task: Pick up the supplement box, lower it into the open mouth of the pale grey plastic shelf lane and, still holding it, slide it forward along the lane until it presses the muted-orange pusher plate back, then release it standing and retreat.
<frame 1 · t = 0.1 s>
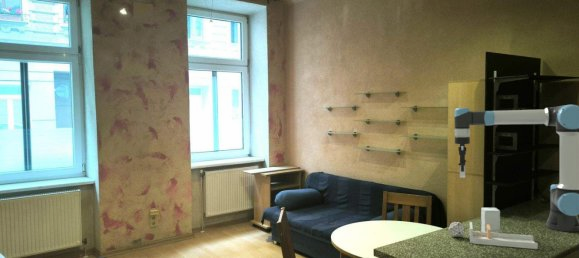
hand: (462, 175, 228), 28 cm above the worktop, fingers open, 13 cm apart
pusher: (488, 233, 203), point 4 cm above the worktop, slide at 0.0 cm
game die: (456, 237, 211), on the worktop
supplement box: (490, 233, 216), on the worktop
lane: (501, 242, 201), on the worktop
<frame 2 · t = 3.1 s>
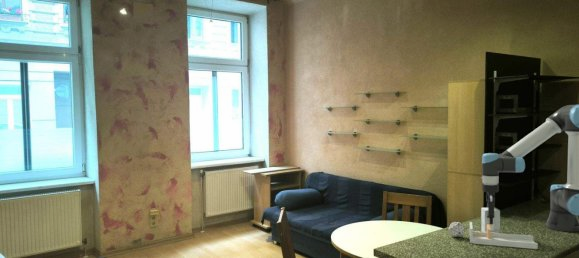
hand: (490, 228, 215), 3 cm above the worktop, fingers closed on supplement box, 8 cm apart
supplement box: (490, 233, 216), on the worktop, touching gripper
everything else where it was.
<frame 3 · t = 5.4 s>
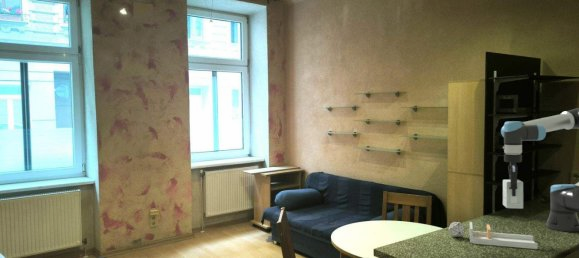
hand: (513, 200, 202), 19 cm above the worktop, fingers closed on supplement box, 8 cm apart
supplement box: (512, 207, 202), point 16 cm above the worktop, touching gripper
everything else where it was.
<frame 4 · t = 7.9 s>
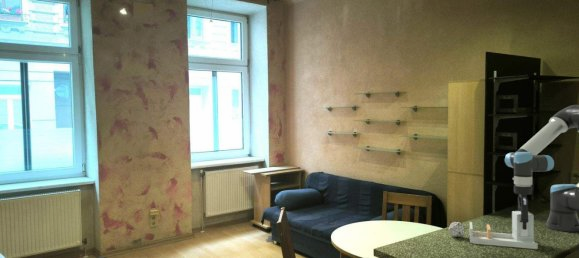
hand: (522, 233, 198), 5 cm above the worktop, fingers closed on supplement box, 8 cm apart
supplement box: (522, 239, 198), point 2 cm above the worktop, touching gripper
everything else where it was.
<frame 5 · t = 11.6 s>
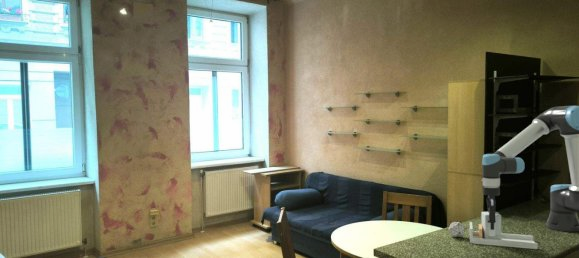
hand: (491, 233, 203), 4 cm above the worktop, fingers closed on supplement box, 8 cm apart
pusher: (480, 232, 205), point 4 cm above the worktop, slide at 3.6 cm
supplement box: (491, 239, 203), point 1 cm above the worktop, touching gripper
everything else where it was.
when the fingers open (4 cm above the worktop, at t = 12.7 s): supplement box stays where it is, resting on lane.
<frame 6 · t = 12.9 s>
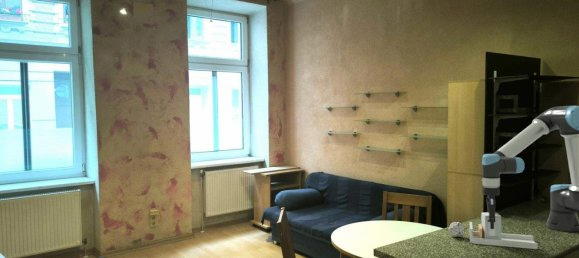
hand: (491, 232, 203), 4 cm above the worktop, fingers open, 10 cm apart
supplement box: (491, 240, 203), resting on lane
everything else where it was.
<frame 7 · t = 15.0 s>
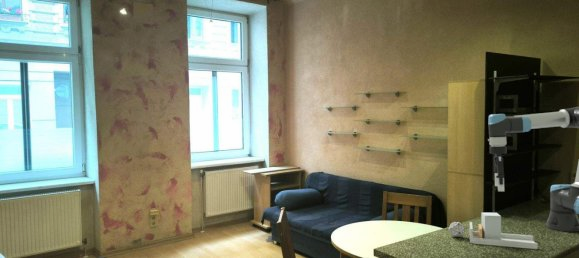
hand: (499, 188, 208), 24 cm above the worktop, fingers open, 13 cm apart
nothing on the worktop moved.
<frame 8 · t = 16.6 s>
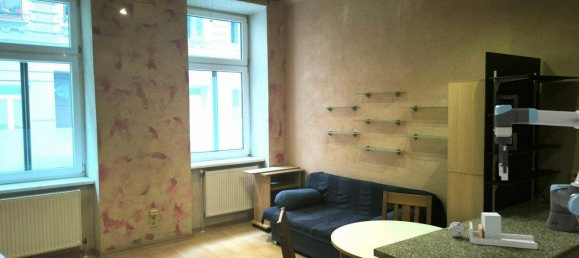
hand: (503, 178, 212), 29 cm above the worktop, fingers open, 13 cm apart
nothing on the worktop moved.
at the end: supplement box inside the target area on the lane (1.0 cm from its centre), point 0.3 cm above the lane's base; supplement box tilted 0°; pusher slide at 3.7 cm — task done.
